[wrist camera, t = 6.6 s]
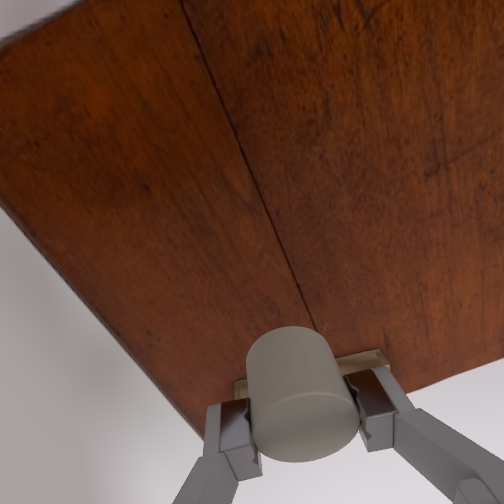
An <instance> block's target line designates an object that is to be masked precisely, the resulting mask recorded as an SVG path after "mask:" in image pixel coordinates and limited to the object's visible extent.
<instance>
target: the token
mask: <svg viewBox="0 0 504 504" xmlns="http://www.w3.org/2000/svg"><path fill="white" fill-rule="evenodd" d="M246 368H247V382H248V396H249V404H250V424H251V431H252V435H253V438H254V445H255V446H256V447H257V448H258V450H259V451H260V452H261V453H262V454H264V455H265V456H267V457H269V458H272V459H274V460H278V461H284V462H307V461H313V460H317V459H320V458H323V457H326V456H329V455H331V454H333V453H335V452H337V451H339V450H340V449H342V448H343V447H345V446H346V445H347V444H348V443H349V442H350V441H351V440H352V439H353V438H354V437H355V435H356V434H357V432H358V430H359V427H360V417H359V411H358V408H357V405H356V403H355V401H354V399H353V397H352V395H351V393H350V390H349V388H348V386H347V384H346V382H345V380H344V377H343V375H342V373H341V371H340V369H339V367H338V364H337V362H336V360H335V358H334V356H333V354H332V352H331V349H330V347H329V345H328V343H327V341H326V340H325V339H324V338H323V337H322V336H321V335H320V334H319V333H317V332H315V331H314V330H311V329H309V328H305V327H299V326H288V327H281V328H278V329H275V330H272V331H270V332H268V333H266V334H264V335H263V336H261V337H260V338H259V339H258V340H257V341H256V342H255V343H254V344H253V345H252V347H251V348H250V350H249V352H248V355H247V359H246Z"/></svg>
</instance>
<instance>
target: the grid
mask: <svg viewBox="0 0 504 504" xmlns="http://www.w3.org/2000/svg"><path fill="white" fill-rule="evenodd" d="M335 360H336V362H337V364H338V367H339V369H340V371H341V373H342V375H343V376H344V375H345V374H350V373H354V372H358V371H362V370H366V369H372V368H376V367H380V366H386V367H387V368H388V369H389V371H390V364H389V362H388V361H387V360H386V358H385V357H384V355H383V354H382V353H381V351H380V350H379V349H374V350H370V351H365V352H361V353H357V354H352V355H348V356H344V357H339V358H335ZM246 397H249V396H248V382H247V379H243V380H239V381H235V382H234V398H235V400H237V399H242V398H246Z"/></svg>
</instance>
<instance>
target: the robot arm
mask: <svg viewBox="0 0 504 504" xmlns="http://www.w3.org/2000/svg"><path fill="white" fill-rule="evenodd" d="M343 377H344V380H345V382H346V384H347V386H348V388H349V390H350V393H351V395H352V397H353V399H354V401H355V403H356V405H357V408H358V411H359V417H360V427H359V433H360V435H361V437H362V440H363V442H364V444H365V446H366V449H367V451H368V452H372V451H378V450H383V449H389V448H394V450H395V451H396V452H398V453H399V454H400V455H401V456H402V457H403V458H404V459H405V460H406V461H407V462H409V463H410V464H411V465H412V466H413V467H414V468H415V469H416V470H417V471H419V472H420V473H421V474H422V475H423V476H424V477H425V478H426V479H427V480H429V481H430V482H431V483H432V484H433V485H434V486H435V487H436V488H437V489H438V490H440V491H441V492H442V493H443V494H444V495H445V496H446V497H447V498H448V499H450V500H451V501H452V502H453V504H504V461H503V460H501V459H500V458H498V457H497V456H495V455H494V454H492V453H490V452H489V451H487V450H486V449H484V448H482V447H481V446H479V445H477V444H476V443H475V442H473V441H471V440H470V439H468V438H466V437H465V436H463V435H462V434H460V433H459V432H457V431H455V430H454V429H452V428H451V427H449V426H447V425H446V424H444V423H443V422H441V421H440V420H438V419H436V418H435V417H433V416H432V415H430V414H429V413H427V412H425V411H423V410H422V409H421V408H419V409H415V407H414V406H413V404H412V403H411V402H410V400H409V399H408V397H407V396H406V394H405V393H404V391H403V390H402V388H401V387H400V385H399V384H398V382H397V381H396V380H395V378H394V377H393V375H392V374H391V372H390V371H389V369H388V368H387V367H386V366H380V367H376V368H372V369H366V370H362V371H358V372H354V373H350V374H345V375H344V376H343ZM259 476H262V464H261V454H260V451H259V450H258V448H257V447H256V446H255V445H254V438H253V435H252V431H251V424H250V404H249V397H246V398H242V399H237V400H232V401H227V402H222V403H217V404H213V405H208V408H207V413H206V425H205V437H204V449H203V457H199V458H198V460H197V462H196V463H195V465H194V467H193V468H192V470H191V472H190V474H189V475H188V477H187V479H186V481H185V483H184V484H183V486H182V488H181V489H180V491H179V493H178V495H177V497H176V498H175V500H174V502H173V503H172V504H231V503H232V501H233V498H234V495H235V492H236V490H237V487H238V482H239V481H243V480H247V479H251V478H255V477H259Z"/></svg>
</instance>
